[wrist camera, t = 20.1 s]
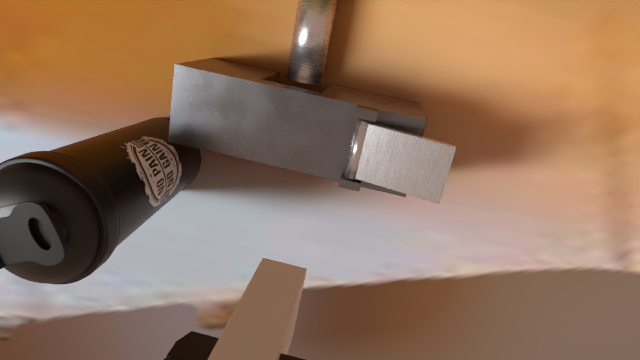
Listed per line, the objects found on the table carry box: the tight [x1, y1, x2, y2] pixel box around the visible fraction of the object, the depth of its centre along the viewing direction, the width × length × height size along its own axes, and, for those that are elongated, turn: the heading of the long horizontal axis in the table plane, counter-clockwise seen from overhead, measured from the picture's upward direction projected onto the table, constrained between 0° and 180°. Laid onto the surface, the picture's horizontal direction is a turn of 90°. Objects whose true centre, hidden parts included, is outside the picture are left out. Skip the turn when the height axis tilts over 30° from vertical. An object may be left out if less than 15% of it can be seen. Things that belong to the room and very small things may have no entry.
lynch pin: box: [286, 0, 338, 85], centre depth 43 cm, size 10×7×6 cm, turn 169°
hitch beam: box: [168, 58, 427, 197], centre depth 43 cm, size 22×7×11 cm, turn 79°
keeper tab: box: [345, 119, 457, 204], centre depth 37 cm, size 1×5×8 cm
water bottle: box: [0, 118, 201, 284], centre depth 41 cm, size 10×10×23 cm
